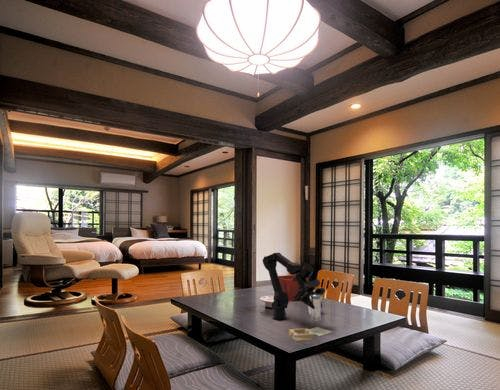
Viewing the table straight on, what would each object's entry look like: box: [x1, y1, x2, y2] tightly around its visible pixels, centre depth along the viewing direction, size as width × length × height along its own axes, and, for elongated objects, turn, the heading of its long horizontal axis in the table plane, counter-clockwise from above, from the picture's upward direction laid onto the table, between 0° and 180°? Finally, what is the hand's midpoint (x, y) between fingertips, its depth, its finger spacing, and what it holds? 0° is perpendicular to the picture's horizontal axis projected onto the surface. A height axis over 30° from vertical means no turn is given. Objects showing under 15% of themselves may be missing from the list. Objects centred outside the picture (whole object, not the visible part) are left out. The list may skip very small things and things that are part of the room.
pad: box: [308, 326, 332, 337], centre depth 173 cm, size 10×10×1 cm
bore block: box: [288, 327, 316, 342], centre depth 164 cm, size 10×10×3 cm
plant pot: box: [278, 274, 310, 302], centre depth 250 cm, size 19×19×17 cm
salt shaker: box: [310, 293, 322, 322], centre depth 172 cm, size 6×6×13 cm
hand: (317, 307), depth 171 cm, fingers closed on salt shaker, 5 cm apart
